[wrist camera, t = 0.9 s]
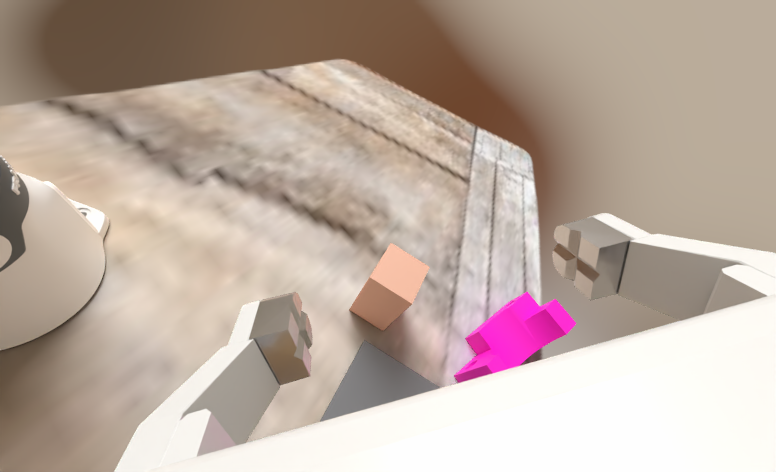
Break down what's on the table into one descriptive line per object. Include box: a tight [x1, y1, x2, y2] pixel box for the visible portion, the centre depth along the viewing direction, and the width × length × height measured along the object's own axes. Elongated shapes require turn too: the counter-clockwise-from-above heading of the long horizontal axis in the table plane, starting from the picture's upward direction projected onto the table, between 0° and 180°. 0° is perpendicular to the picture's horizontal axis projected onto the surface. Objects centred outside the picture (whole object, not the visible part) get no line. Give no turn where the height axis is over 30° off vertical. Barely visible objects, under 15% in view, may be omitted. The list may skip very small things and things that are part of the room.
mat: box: [320, 341, 440, 422], centre depth 33 cm, size 14×14×1 cm
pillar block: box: [349, 243, 430, 331], centre depth 37 cm, size 5×5×10 cm
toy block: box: [454, 292, 576, 383], centre depth 40 cm, size 15×6×8 cm, turn 126°
